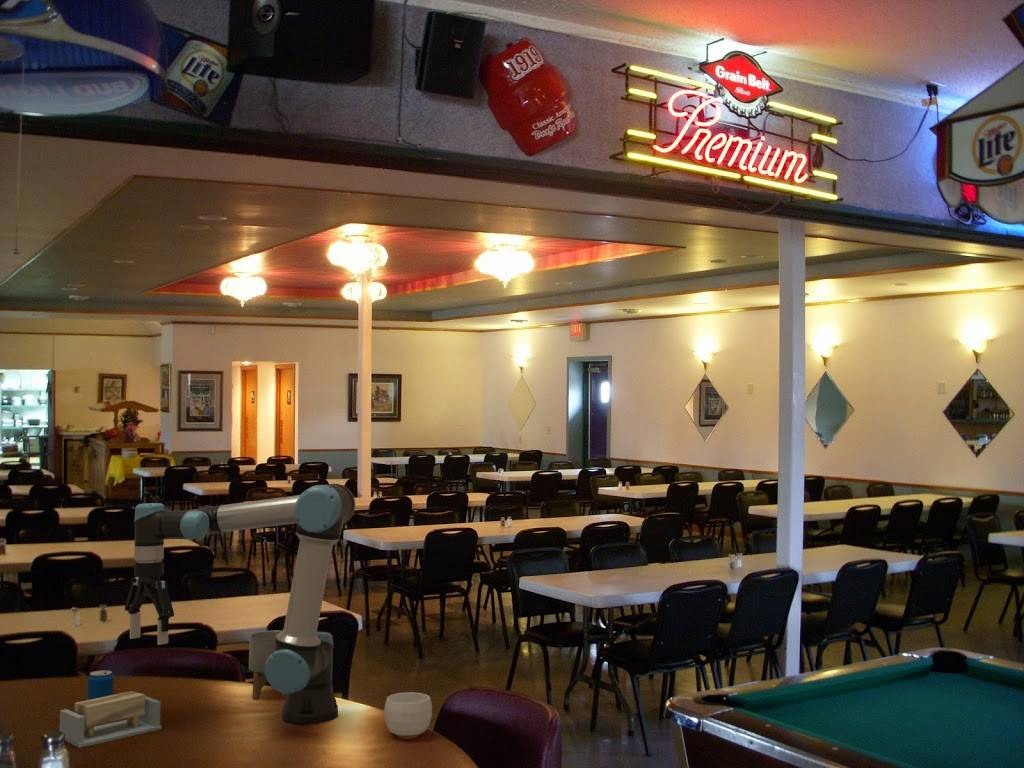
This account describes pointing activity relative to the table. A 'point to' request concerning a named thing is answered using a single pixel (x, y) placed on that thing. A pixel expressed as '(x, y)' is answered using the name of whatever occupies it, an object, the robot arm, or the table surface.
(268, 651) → the planter
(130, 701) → the shelf board
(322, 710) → the robot arm
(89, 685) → the beverage can
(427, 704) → the cup
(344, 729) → the table surface
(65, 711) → the peg frame
